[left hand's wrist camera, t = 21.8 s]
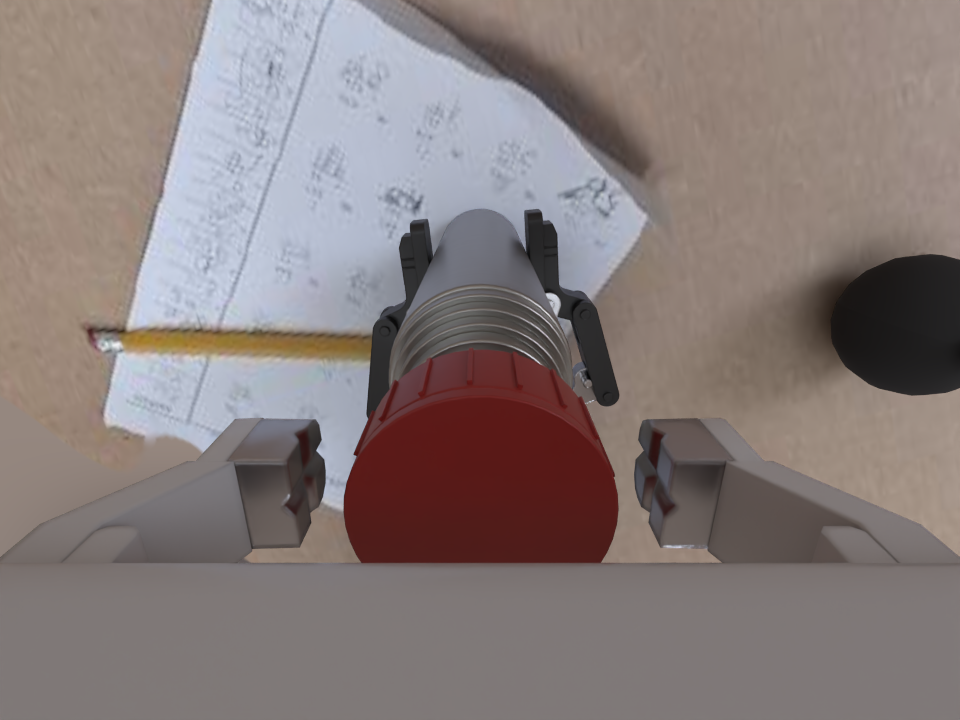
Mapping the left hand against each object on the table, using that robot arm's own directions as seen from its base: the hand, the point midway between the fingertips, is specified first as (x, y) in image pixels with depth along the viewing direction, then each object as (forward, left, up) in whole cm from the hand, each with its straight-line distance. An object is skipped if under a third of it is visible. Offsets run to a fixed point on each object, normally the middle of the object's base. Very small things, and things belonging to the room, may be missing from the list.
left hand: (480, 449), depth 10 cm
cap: (0, 0, +2) cm, 2 cm away
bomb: (+13, +21, -23) cm, 34 cm away
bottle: (0, 0, -23) cm, 23 cm away
